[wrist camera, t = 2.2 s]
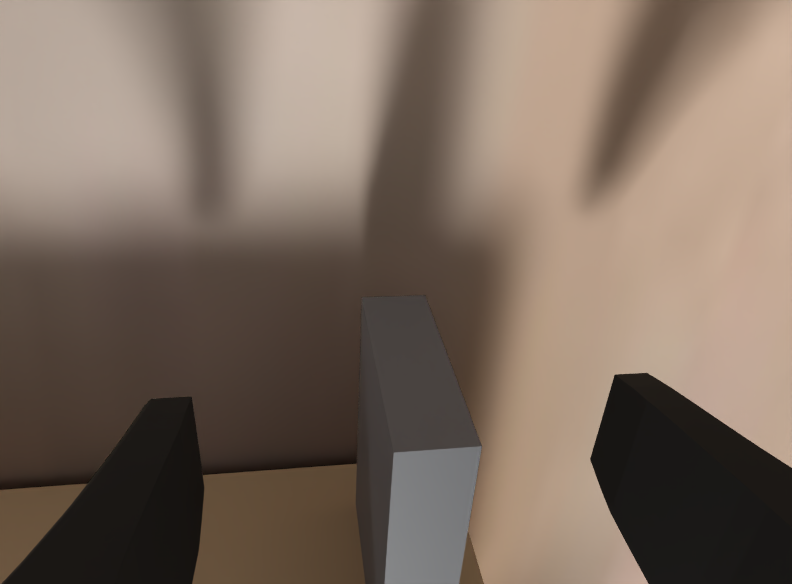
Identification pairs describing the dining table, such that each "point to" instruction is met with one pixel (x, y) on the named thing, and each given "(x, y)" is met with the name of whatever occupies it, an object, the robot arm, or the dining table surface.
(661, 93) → the dining table surface
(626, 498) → the robot arm
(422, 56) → the dining table surface
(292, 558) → the front flap
